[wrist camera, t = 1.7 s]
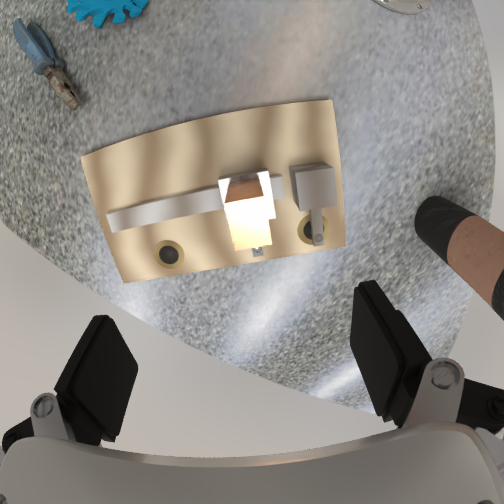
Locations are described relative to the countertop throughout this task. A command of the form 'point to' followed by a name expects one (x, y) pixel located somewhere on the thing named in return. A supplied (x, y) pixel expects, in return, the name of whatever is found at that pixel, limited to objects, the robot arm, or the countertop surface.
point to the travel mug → (465, 246)
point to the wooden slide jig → (218, 189)
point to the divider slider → (248, 208)
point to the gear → (105, 9)
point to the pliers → (45, 61)
